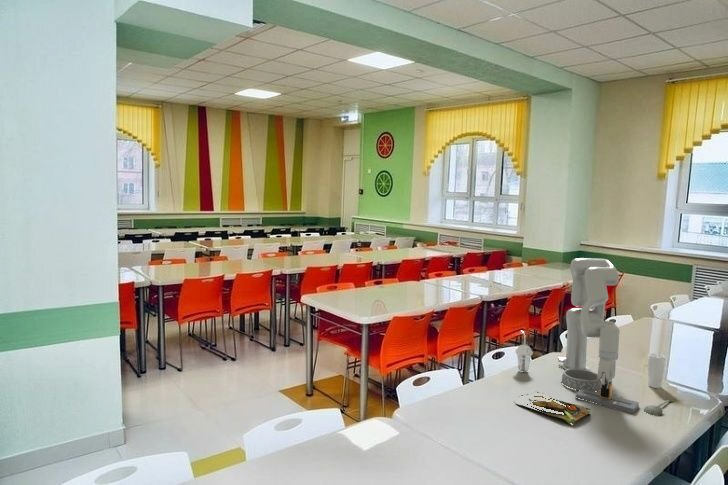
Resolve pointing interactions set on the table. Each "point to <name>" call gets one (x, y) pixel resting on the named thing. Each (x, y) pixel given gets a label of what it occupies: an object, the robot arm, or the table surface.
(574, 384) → the dog bowl
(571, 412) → the prepared meal
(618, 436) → the table surface
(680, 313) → the table surface
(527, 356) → the cup with straw
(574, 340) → the robot arm
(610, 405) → the fader console
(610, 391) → the fader knob
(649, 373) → the drinking glass
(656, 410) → the soupspoon
